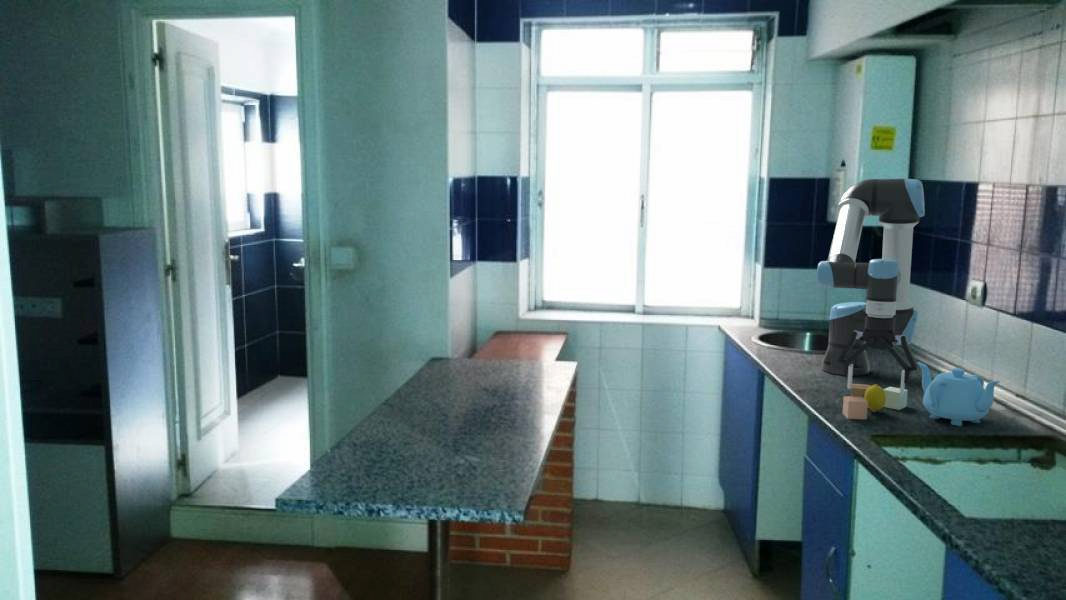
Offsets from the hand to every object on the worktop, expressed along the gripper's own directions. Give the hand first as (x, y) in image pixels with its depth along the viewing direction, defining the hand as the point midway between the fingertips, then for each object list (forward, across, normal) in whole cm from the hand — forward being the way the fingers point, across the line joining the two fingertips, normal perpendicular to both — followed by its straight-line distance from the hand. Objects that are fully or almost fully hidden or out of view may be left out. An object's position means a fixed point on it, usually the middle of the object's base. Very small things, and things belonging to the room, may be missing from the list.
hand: (875, 391), depth 221 cm
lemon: (+6, 0, 0) cm, 6 cm away
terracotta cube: (+6, -4, -6) cm, 10 cm away
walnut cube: (+6, -5, +8) cm, 12 cm away
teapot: (+6, +19, +4) cm, 21 cm away
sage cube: (+6, +4, +10) cm, 12 cm away
